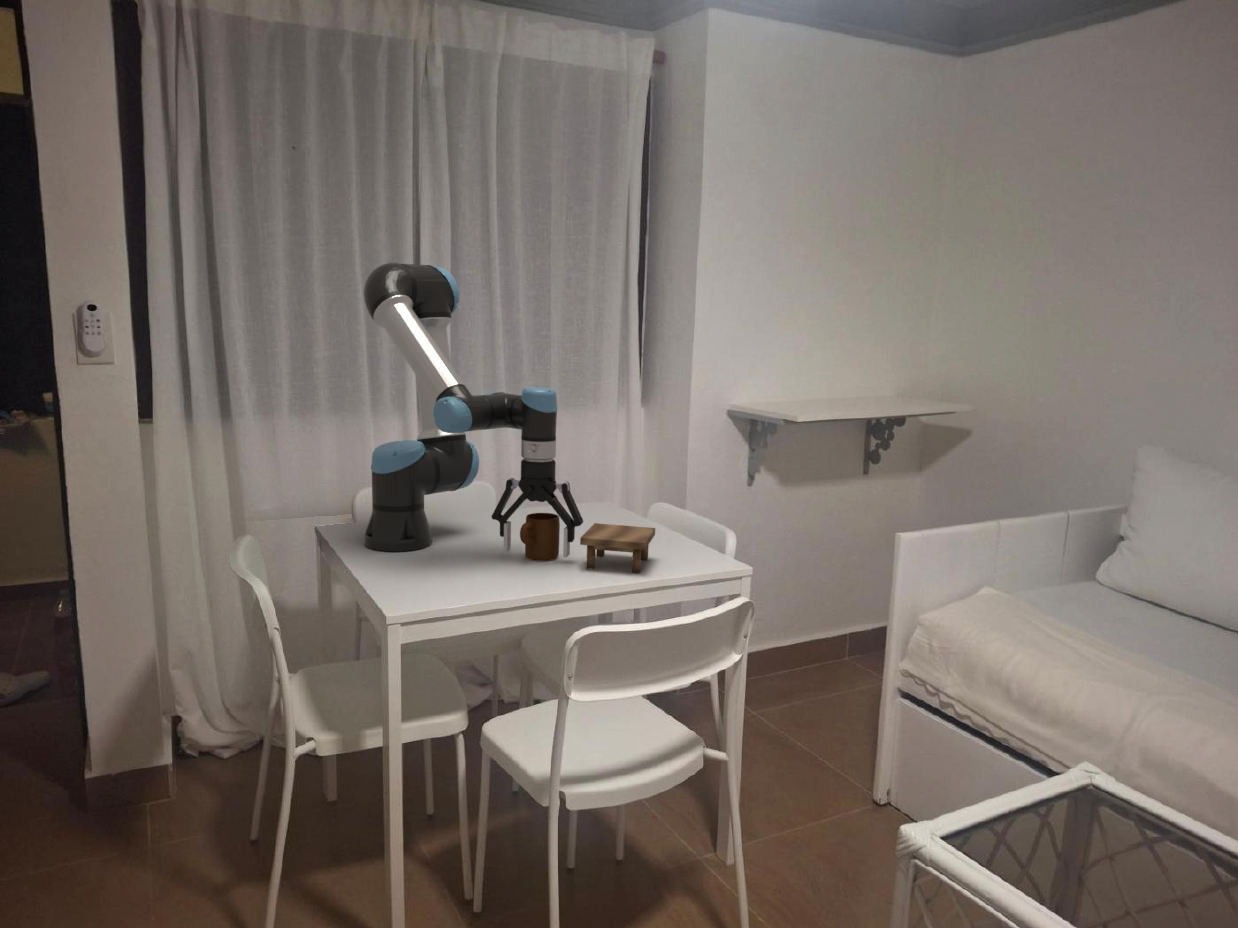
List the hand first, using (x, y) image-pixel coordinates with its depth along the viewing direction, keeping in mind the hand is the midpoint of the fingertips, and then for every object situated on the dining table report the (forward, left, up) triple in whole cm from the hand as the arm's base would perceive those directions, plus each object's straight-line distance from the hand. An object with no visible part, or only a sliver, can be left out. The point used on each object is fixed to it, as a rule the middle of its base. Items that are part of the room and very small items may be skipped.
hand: (536, 553), depth 200 cm
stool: (+18, +2, -1) cm, 18 cm away
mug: (0, 0, -2) cm, 2 cm away
